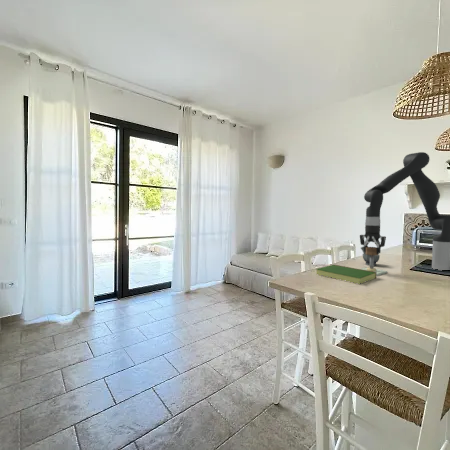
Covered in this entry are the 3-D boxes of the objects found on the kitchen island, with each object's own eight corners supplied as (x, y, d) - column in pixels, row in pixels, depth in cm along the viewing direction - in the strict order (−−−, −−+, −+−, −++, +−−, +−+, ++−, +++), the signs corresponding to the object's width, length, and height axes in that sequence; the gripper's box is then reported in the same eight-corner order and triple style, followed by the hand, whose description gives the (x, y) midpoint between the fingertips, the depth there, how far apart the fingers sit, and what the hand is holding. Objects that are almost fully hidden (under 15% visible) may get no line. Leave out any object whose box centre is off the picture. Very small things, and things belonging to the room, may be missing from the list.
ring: (369, 253, 151) (369, 246, 151) (379, 254, 146) (380, 247, 146) (364, 254, 147) (364, 247, 147) (374, 255, 142) (374, 248, 142)
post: (366, 268, 156) (366, 251, 155) (387, 272, 146) (387, 254, 145) (355, 271, 149) (356, 253, 148) (377, 275, 139) (377, 256, 138)
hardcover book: (376, 279, 135) (376, 272, 134) (359, 285, 124) (359, 278, 123) (332, 270, 155) (332, 264, 155) (314, 275, 144) (314, 268, 143)
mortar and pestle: (380, 264, 168) (380, 246, 167) (378, 266, 160) (378, 248, 160) (361, 262, 175) (361, 245, 174) (358, 264, 167) (359, 246, 167)
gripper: (389, 224, 142) (388, 254, 143) (363, 223, 154) (362, 250, 155) (382, 225, 138) (382, 255, 139) (357, 224, 150) (356, 252, 151)
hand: (371, 253), depth 147 cm, fingers closed on ring, 6 cm apart
